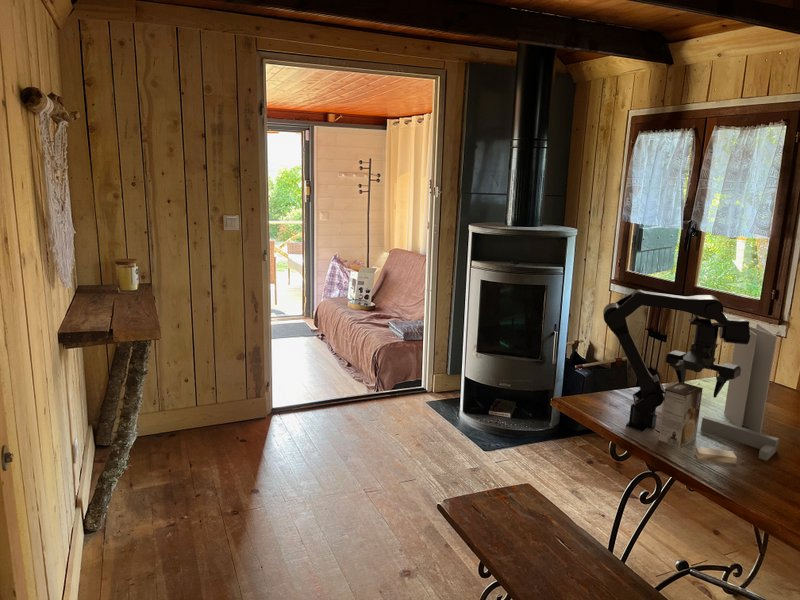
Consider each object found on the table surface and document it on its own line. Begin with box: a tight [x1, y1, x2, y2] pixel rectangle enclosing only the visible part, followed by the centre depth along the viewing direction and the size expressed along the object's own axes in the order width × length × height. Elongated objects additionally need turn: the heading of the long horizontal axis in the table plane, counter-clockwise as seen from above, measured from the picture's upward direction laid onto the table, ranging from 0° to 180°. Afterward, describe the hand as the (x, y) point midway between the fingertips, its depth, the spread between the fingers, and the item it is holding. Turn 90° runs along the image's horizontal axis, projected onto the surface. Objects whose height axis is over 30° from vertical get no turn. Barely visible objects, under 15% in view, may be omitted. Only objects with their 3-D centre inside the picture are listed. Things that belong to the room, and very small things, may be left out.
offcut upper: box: [694, 446, 738, 465], centre depth 153 cm, size 9×4×2 cm, turn 77°
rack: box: [700, 415, 780, 462], centre depth 162 cm, size 19×8×5 cm, turn 42°
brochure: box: [723, 323, 778, 433], centre depth 174 cm, size 14×6×30 cm, turn 168°
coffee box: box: [658, 381, 704, 449], centre depth 162 cm, size 9×6×16 cm
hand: (697, 392), depth 167 cm, fingers open, 9 cm apart
